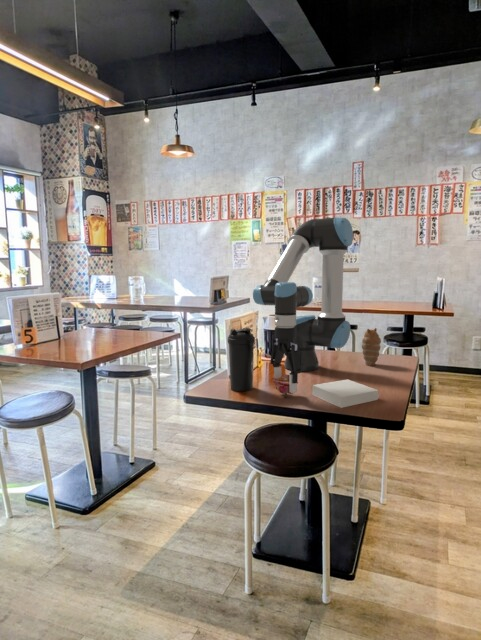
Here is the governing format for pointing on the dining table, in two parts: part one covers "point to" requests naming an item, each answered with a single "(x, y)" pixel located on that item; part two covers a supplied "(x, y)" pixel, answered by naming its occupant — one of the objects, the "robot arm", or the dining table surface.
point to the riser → (344, 393)
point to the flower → (282, 384)
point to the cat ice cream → (371, 347)
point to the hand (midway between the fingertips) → (285, 387)
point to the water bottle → (241, 359)
